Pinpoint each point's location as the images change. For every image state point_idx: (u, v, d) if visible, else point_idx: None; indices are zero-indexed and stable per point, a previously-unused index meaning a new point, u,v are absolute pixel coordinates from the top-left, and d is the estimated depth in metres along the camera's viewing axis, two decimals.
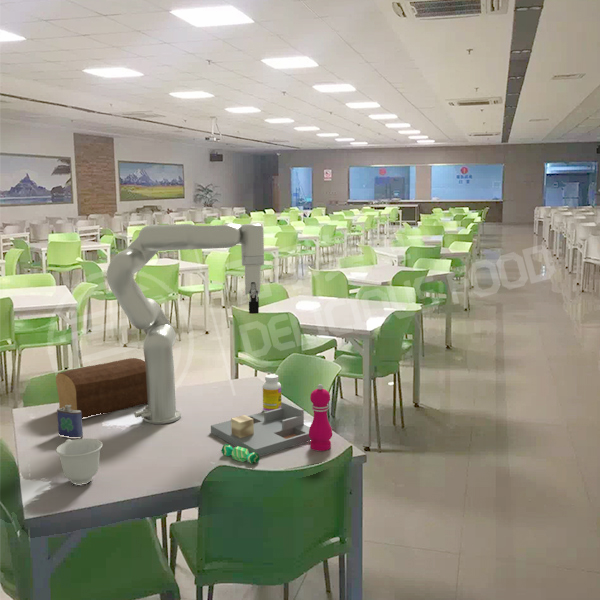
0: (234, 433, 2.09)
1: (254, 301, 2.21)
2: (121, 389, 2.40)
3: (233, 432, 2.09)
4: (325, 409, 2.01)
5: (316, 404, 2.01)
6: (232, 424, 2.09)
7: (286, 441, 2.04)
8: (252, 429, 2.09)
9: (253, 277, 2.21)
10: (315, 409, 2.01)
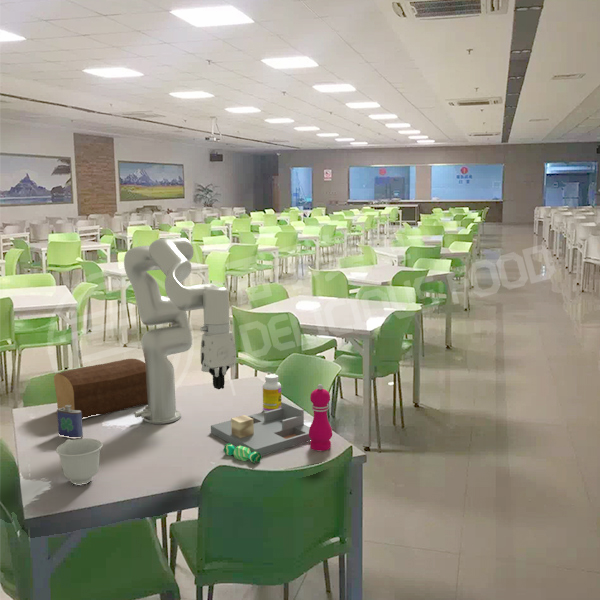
0: (234, 433, 2.09)
1: None
2: (119, 390, 2.39)
3: (233, 432, 2.09)
4: (325, 409, 2.01)
5: (316, 404, 2.01)
6: (232, 424, 2.09)
7: (286, 441, 2.04)
8: (252, 429, 2.09)
9: None
10: (315, 409, 2.01)
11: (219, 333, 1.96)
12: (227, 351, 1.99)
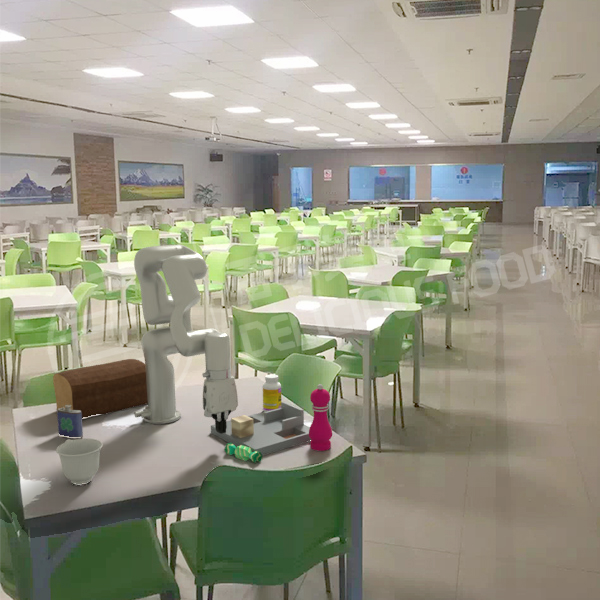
0: (234, 433, 2.09)
1: None
2: (118, 390, 2.39)
3: (233, 432, 2.09)
4: (325, 409, 2.01)
5: (316, 404, 2.01)
6: (232, 424, 2.09)
7: (286, 441, 2.04)
8: (252, 429, 2.09)
9: None
10: (315, 409, 2.01)
11: (221, 379, 1.98)
12: (229, 396, 2.01)
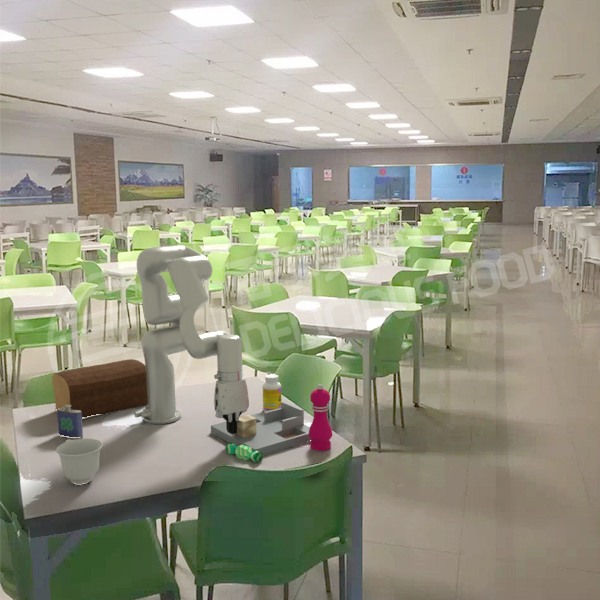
0: (237, 432, 2.09)
1: None
2: (116, 391, 2.38)
3: None
4: (325, 409, 2.01)
5: (316, 404, 2.01)
6: None
7: (286, 441, 2.04)
8: (255, 429, 2.09)
9: None
10: (315, 409, 2.01)
11: (232, 380, 2.01)
12: (240, 397, 2.04)
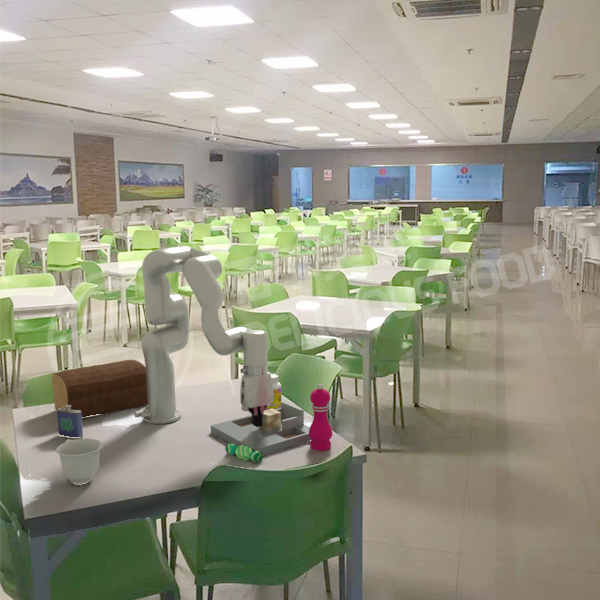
0: (262, 426, 2.15)
1: None
2: (115, 391, 2.38)
3: None
4: (325, 409, 2.01)
5: (316, 404, 2.01)
6: None
7: (286, 441, 2.04)
8: (280, 422, 2.15)
9: None
10: (315, 409, 2.01)
11: (258, 375, 2.06)
12: (265, 391, 2.10)
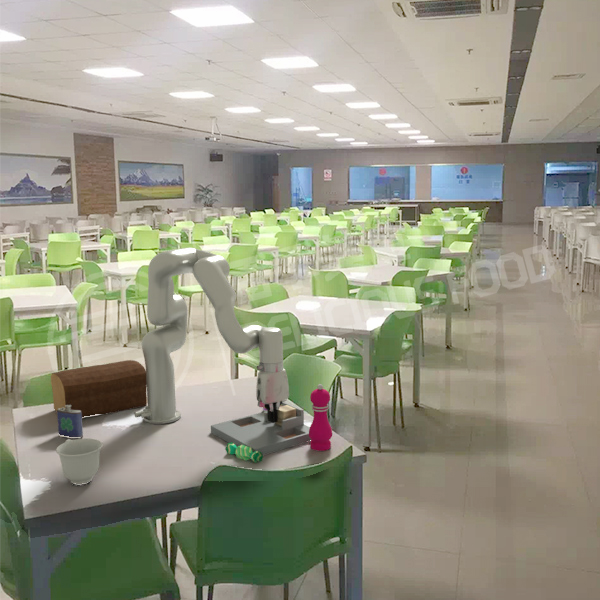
0: (277, 422, 2.18)
1: None
2: (113, 392, 2.37)
3: None
4: (325, 409, 2.01)
5: (316, 404, 2.01)
6: None
7: (286, 441, 2.04)
8: None
9: None
10: (315, 409, 2.01)
11: (274, 371, 2.10)
12: (281, 387, 2.13)
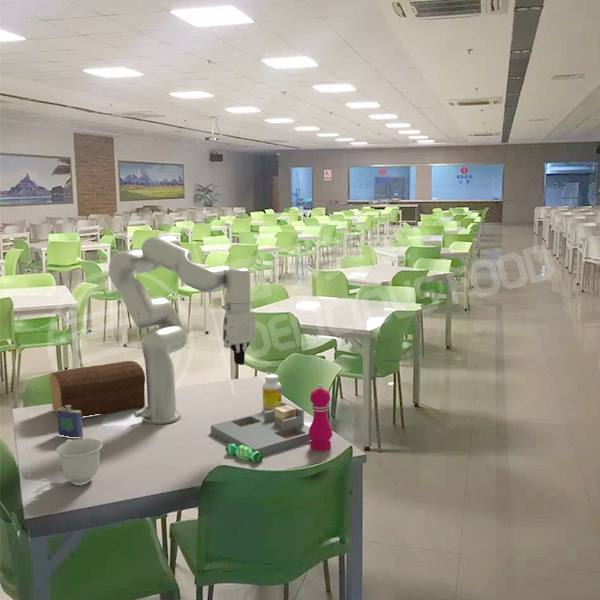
0: (277, 422, 2.18)
1: None
2: (110, 392, 2.36)
3: (276, 421, 2.19)
4: (325, 409, 2.01)
5: (316, 404, 2.01)
6: (276, 413, 2.19)
7: (286, 441, 2.04)
8: None
9: None
10: (315, 409, 2.01)
11: (241, 311, 2.08)
12: (248, 329, 2.11)
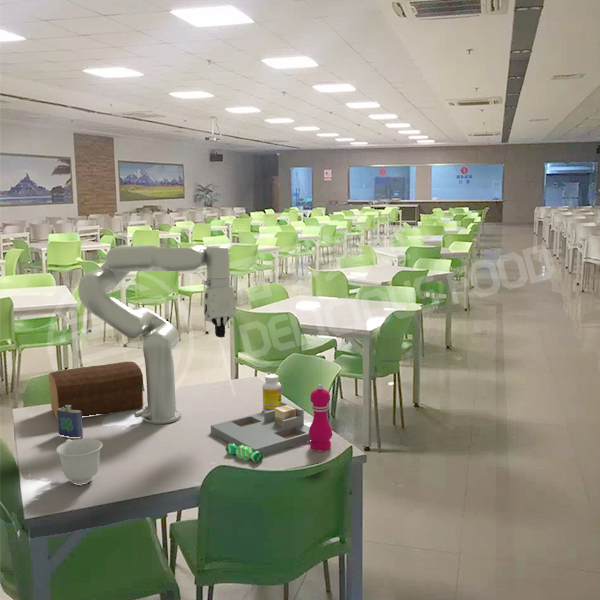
0: (277, 422, 2.18)
1: None
2: (107, 393, 2.36)
3: (276, 421, 2.19)
4: (325, 409, 2.01)
5: (316, 404, 2.01)
6: (276, 413, 2.19)
7: (286, 441, 2.04)
8: None
9: None
10: (315, 409, 2.01)
11: (220, 286, 2.20)
12: (228, 303, 2.23)
